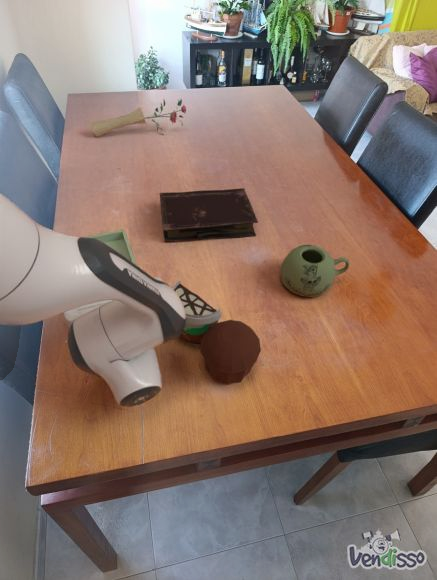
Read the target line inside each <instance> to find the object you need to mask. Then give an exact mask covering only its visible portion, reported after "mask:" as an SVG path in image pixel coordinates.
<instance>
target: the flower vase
mask: <svg viewBox="0 0 437 580" xmlns="http://www.w3.org/2000/svg"><path fill="white" fill-rule="evenodd" d="M182 104H183V100H182V98H181V99H179V100H177V105H176V109H178V108H179V107H180V109H179V110H176V111H175V110H173V112H169V113H163V114H161V113H162V112H163V110H164V107H165V106H166V100H165V99H163V103H162V102H160V106H159V107H160V112H159V107H156V108H155V109H154V113H153V114H152V115H150V116H146V117H145V116H144V112H143V110H142V107H141V106H139V107H138V108H136V109H135V110H132V111H131V112H129V113H127V114H125V115H124V114H123V115H122V116H118V117H114V118H110V119H105V120H100V121H96V122H91V124H90V125H91V128H92V131H93V134H94V136H95V137H96V138H98V137H100V136H103V135H106V134H107V133H111V132H112V131H115V130H118V129H121V128H124V127H127V126H130V125H136V124H138V125H139V124H147V122H146V119H150V120H151V121H152V122H153V123H155V124H156V126H157V128H156V131H159V129H160V130H161V132H162V135H163V136H164V135H165V134H164V131H163V129H162V128H160V124H159V121H157V122H156V120H155V119H154V118H169V121H170V122H171V123H172V124H175V123H177V120H178V121H180V122H181V127H183V126H184V125H183V124H184V123H183V121H182V120H180V119H178V118H181V119H182V118H184V116H183V115H180V114H179V116H178V112H181V113H183V114H186V113H187V107H186V105H185V104H183V105H182ZM157 113H159V114H157Z"/></svg>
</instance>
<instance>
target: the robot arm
mask: <svg viewBox="0 0 437 580" xmlns="http://www.w3.org/2000/svg"><path fill="white" fill-rule="evenodd" d="M136 265H137V264H136ZM136 265H135V264H134V263H132V262H131V261H130V260H128V259H127V258H125V257H124V256H123V255H121V254H120V253H118V252H117V251H115V250H114V249H112V248H111V247H109V246H108V245H106V244H105V243H103V242H101V241H99V240H97V239H95V238H87V236H75V235H70V234H66V233H62V232H59V231H56V230H53V229H50V228H48V227H46V226H44V225H42V224H40V223H38V222H36V220H33V219H32V217H30V215H28V214H27V213H26V212H24V211H23V210H22V209H21V208H20V207H19V206H18V205H17V204H16V203H14V202H13V201H12V200H10V199H9V198H8V197H7V196H5V195H4V194H3V193H1V192H0V325H4V326H27V325H31V324H35V323H39V322H42V321H44V320H47V319H50V318H53V317H55V316H59V315H61V314H63V317H64V321H65V322H66V325H67V327H68V334H67V345H68V350H69V353H70V356H71V359H72V361H73V363H74V364H75V366H76V367H77V368H78V369H79V370H81V371H82V372H84V373H87V374H90V375H92V376H94V377H97V378H100V379H103V380H104V381H105V383H106V384H107V385H108V387H109V388H110V391H111V393H112V395H113V397H114V400H115V402H116V403H117V404H118V406H120V407H124V408H126V407H127V408H132V407H136V406H139V405H142V404H144V403H146V402H148V401H150V400H152V399H153V398H155V397H156V396H157V395H159V393H160V392H161V390H162V388H163V384H162V383H163V382H162V381H163V380H162V374H161V373H162V372H161V368H160V365H159V359H158V356H157V353H156V350H155V348H156V347H158V346H160V345H164V344H166V343H169V342H171V341H174V340H176V339H179V338H180V337H181V336H180V334H181V332H182V330H183V328H184V326H185V323H186V319H187V318H186V313H185V309H184V306H183V303H182V301H181V299H180V298H179V296H178V295H177V293H176V292H175V291H174V290H173V289H172V288H173V287H171V286H170V285H169V284H168V283H166V282H164V281H163V280H162V279H161V278H159V277H158V276H157V277H156V276H155V277H153V276H152V275H151V274H149V273H147V272H146V271H145V270H143V269H142V268H140V267H139V265H137V266H136Z"/></svg>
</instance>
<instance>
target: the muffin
mask: <svg viewBox="0 0 437 580" xmlns="http://www.w3.org/2000/svg"><path fill="white" fill-rule="evenodd" d="M261 351H262V347H261V341H260V338H259V336H258V335H257V334H256V332H255V331H254V329H253V328H252V327H250V325H248V324H246V323H245V322H243V321H240V320H234V319H227V320H223V321H220V322H219V321H218V323H217V324H215V325H214V326H212V327H211V328H209V329H208V330H207V331H206V332H205V334H204V336H203V338H202V339H201V343H200V354H201V355H202V358H203V361H204V365H205V369H206V370H207V372H208V373H209V375H210V376H211V377H212V380H214V381H217V382H219V383H222V384H225V385H226V386H228V385H231V384H232V385H233V384H237V383H242V381H243V380H244V378H245V377H247V376H248V375H249V374H250V373H251V371H252V369H253V367H254V365H255V363H257V362H258V358H259V357H260V354H261Z"/></svg>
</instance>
